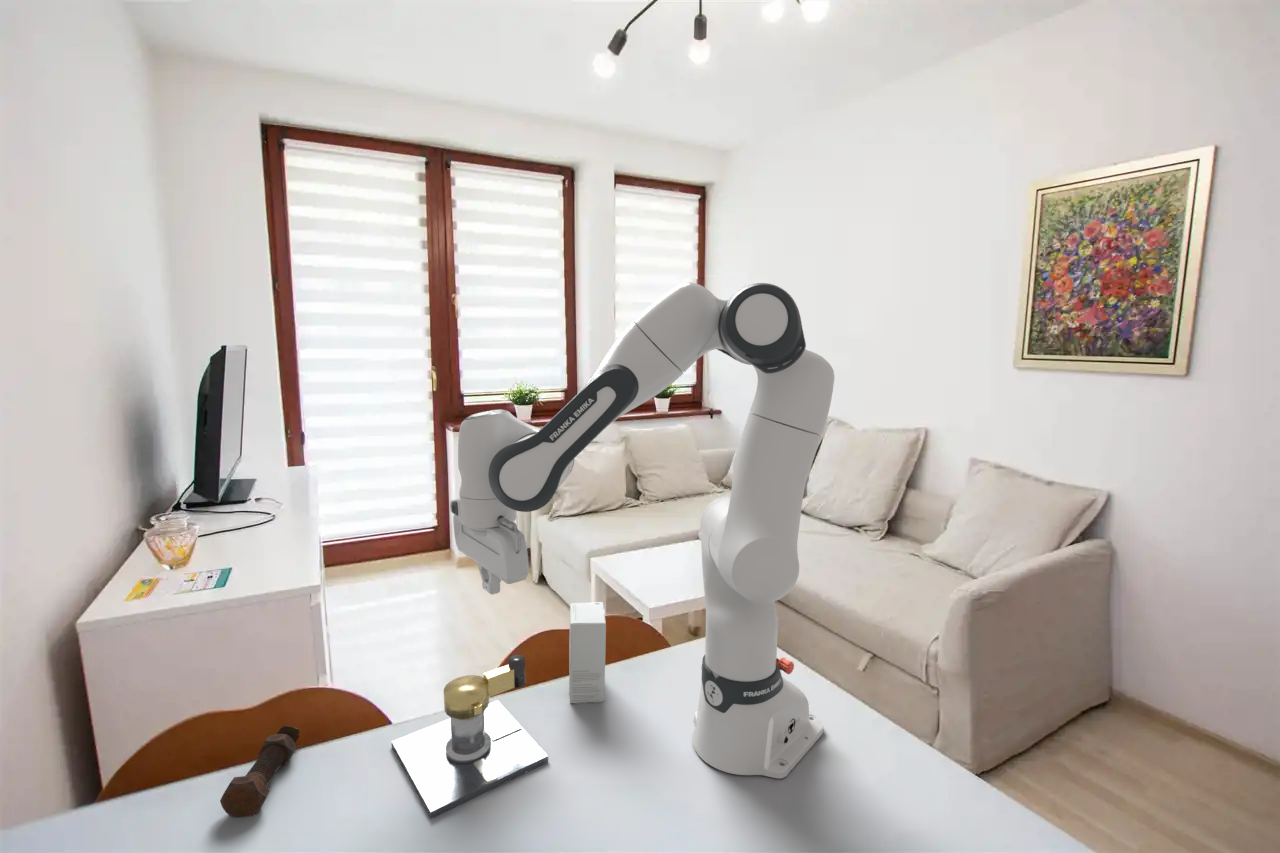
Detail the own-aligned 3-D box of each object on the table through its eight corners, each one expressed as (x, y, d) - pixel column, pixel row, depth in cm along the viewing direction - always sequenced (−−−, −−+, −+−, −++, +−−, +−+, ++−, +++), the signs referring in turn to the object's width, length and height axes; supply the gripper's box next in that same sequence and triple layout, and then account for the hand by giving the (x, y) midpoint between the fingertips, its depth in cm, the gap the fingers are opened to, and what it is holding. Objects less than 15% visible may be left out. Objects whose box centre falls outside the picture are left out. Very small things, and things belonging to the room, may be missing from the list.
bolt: (296, 754, 96) (249, 826, 81) (266, 741, 95) (213, 812, 80) (314, 723, 96) (270, 789, 81) (283, 710, 95) (233, 775, 80)
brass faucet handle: (456, 728, 87) (455, 698, 86) (435, 699, 93) (434, 671, 93) (537, 695, 95) (537, 668, 94) (512, 671, 101) (511, 645, 101)
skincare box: (569, 679, 114) (568, 601, 112) (604, 677, 115) (604, 600, 112) (569, 705, 106) (568, 622, 103) (606, 703, 106) (606, 621, 104)
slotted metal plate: (497, 705, 106) (496, 662, 105) (548, 761, 92) (547, 713, 91) (391, 747, 95) (389, 700, 94) (431, 818, 81) (428, 764, 80)
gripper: (537, 521, 91) (539, 607, 93) (480, 494, 106) (483, 568, 108) (499, 529, 87) (502, 619, 89) (445, 500, 102) (449, 576, 104)
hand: (491, 591), depth 99 cm, fingers closed
